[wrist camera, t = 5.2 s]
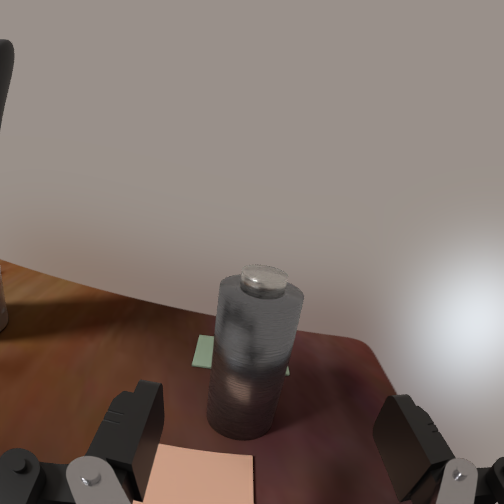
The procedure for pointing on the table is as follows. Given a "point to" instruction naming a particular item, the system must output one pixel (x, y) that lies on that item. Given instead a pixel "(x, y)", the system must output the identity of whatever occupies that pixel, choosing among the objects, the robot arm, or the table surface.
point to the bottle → (251, 350)
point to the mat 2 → (199, 477)
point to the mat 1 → (207, 353)
